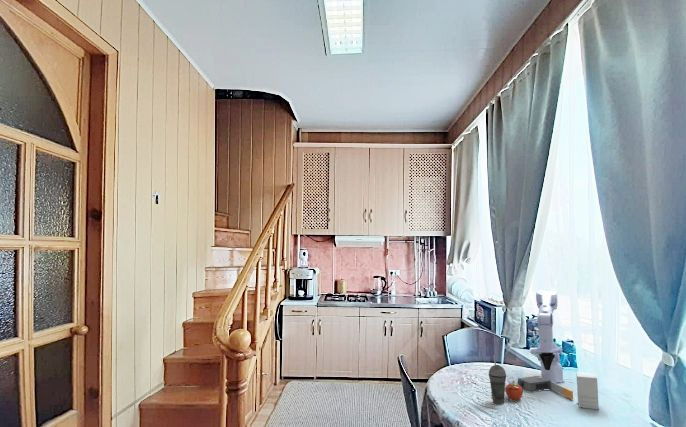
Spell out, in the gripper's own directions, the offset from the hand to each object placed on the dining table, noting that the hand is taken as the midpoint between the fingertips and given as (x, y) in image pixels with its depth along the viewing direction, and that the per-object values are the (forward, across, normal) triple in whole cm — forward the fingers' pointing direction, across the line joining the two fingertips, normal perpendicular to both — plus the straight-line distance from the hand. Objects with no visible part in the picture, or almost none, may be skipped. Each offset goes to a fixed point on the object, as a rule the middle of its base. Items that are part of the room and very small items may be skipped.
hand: (547, 369), depth 207 cm
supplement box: (+10, +5, -20) cm, 23 cm away
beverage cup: (+10, -30, -10) cm, 33 cm away
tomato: (+10, -21, -8) cm, 24 cm away
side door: (+9, +2, -6) cm, 11 cm away
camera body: (+9, -4, +4) cm, 11 cm away
